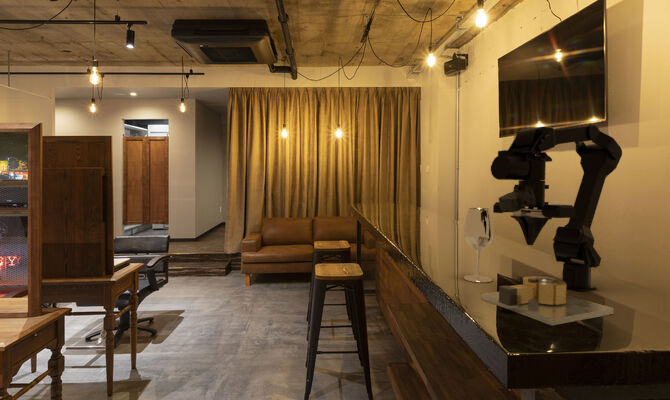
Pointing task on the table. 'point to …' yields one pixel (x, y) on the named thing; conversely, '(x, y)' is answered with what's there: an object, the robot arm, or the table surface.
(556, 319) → the post base
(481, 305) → the table surface
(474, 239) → the wineglass
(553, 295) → the octagonal ring with handle
